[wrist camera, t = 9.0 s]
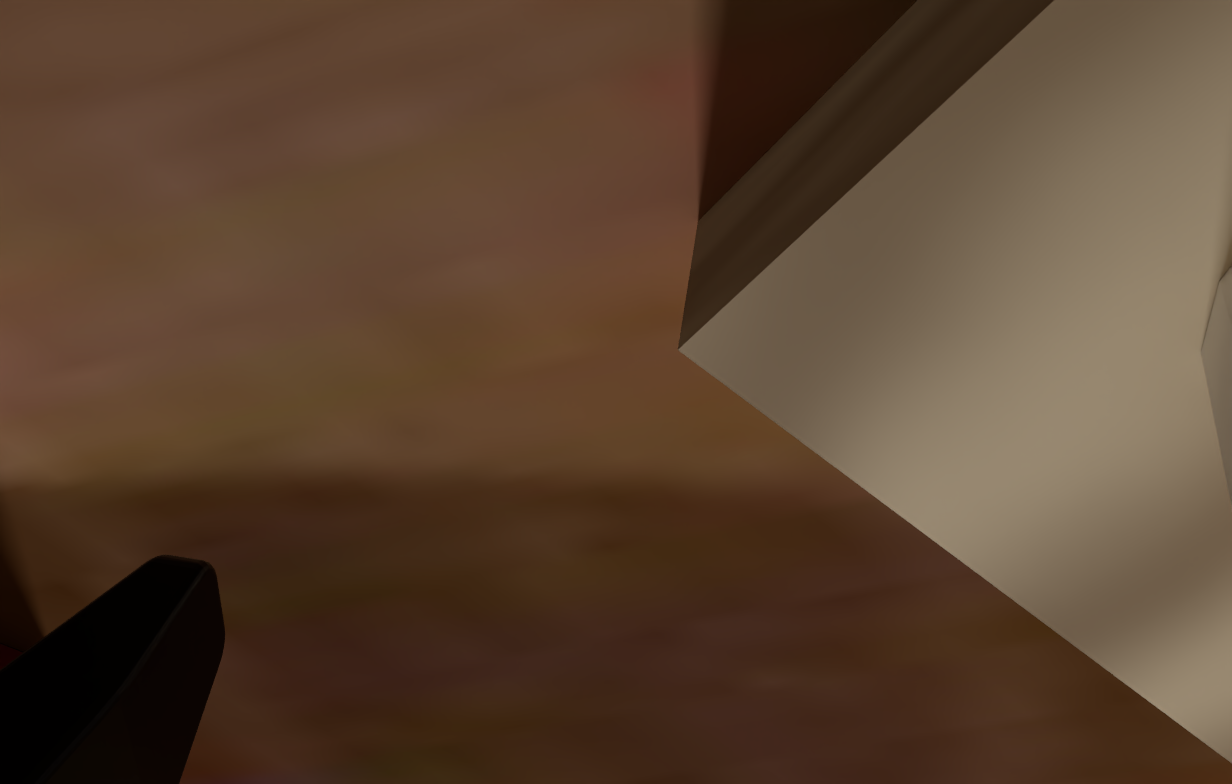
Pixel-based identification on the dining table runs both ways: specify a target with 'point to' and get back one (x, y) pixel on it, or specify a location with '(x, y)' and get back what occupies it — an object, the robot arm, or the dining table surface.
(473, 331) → the dining table surface
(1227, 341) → the white cup
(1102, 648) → the birch block
